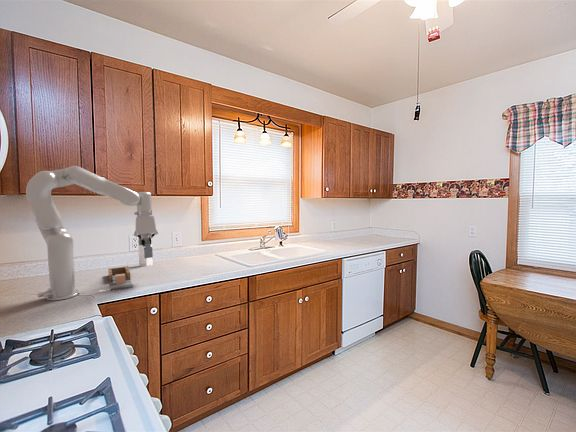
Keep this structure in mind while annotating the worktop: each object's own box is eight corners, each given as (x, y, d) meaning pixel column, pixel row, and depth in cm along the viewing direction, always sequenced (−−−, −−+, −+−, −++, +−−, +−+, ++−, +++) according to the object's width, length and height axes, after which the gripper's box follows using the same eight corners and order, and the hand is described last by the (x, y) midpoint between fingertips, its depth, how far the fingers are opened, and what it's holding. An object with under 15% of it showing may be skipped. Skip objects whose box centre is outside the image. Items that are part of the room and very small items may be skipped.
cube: (125, 283, 155) (125, 275, 154) (116, 284, 152) (115, 276, 152) (125, 281, 158) (124, 273, 158) (115, 282, 156) (115, 274, 155)
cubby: (132, 287, 151) (132, 278, 150) (110, 291, 145) (109, 281, 145) (127, 274, 175) (127, 266, 175) (108, 277, 170) (108, 268, 169)
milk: (152, 265, 198) (151, 233, 196) (146, 267, 192) (145, 235, 190) (145, 264, 199) (144, 233, 197) (139, 267, 193) (137, 234, 191)
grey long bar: (154, 257, 160) (153, 243, 158) (143, 258, 157) (142, 244, 155) (148, 243, 178) (148, 230, 175) (138, 244, 175) (138, 231, 173)
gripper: (129, 215, 154) (131, 248, 156) (161, 213, 163) (162, 245, 164) (128, 214, 161) (130, 246, 162) (159, 212, 169) (160, 243, 171)
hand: (146, 245), depth 163 cm, fingers closed on grey long bar
